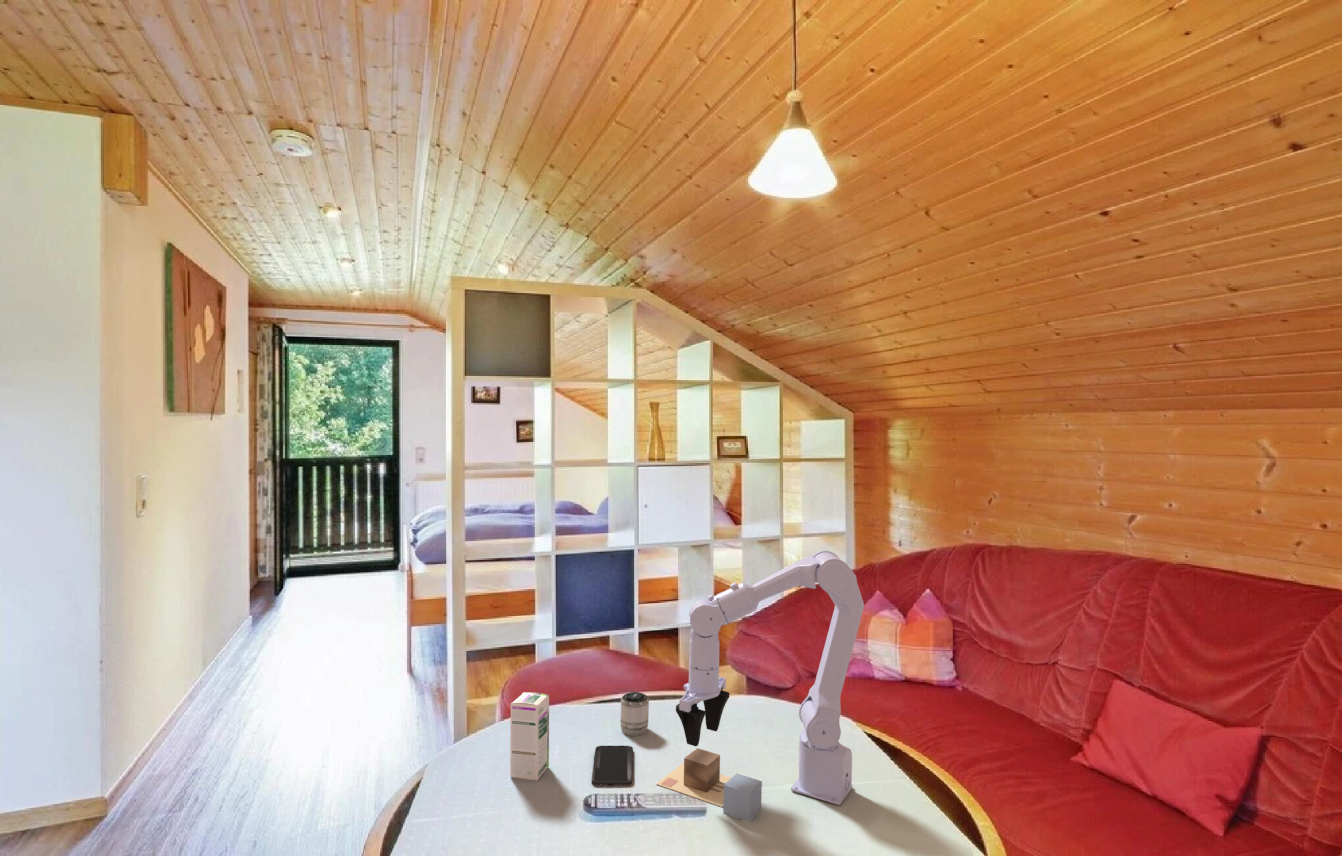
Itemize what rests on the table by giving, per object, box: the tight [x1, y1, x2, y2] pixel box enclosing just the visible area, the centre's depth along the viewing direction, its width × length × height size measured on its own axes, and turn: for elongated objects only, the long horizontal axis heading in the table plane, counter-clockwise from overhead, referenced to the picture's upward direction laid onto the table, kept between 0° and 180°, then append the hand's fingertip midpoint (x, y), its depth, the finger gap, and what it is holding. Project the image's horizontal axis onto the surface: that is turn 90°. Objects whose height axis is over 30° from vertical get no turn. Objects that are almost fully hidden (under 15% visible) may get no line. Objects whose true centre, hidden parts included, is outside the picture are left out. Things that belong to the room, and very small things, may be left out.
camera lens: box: [619, 691, 650, 737], centre depth 153 cm, size 6×6×8 cm
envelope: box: [655, 762, 732, 808], centre depth 130 cm, size 14×10×1 cm
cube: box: [722, 773, 763, 823], centre depth 121 cm, size 5×5×5 cm
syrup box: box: [509, 691, 550, 782], centre depth 134 cm, size 6×6×14 cm
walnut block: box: [683, 748, 721, 792], centre depth 130 cm, size 5×5×5 cm
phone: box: [591, 745, 634, 787], centre depth 136 cm, size 8×1×15 cm
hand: (702, 736), depth 130 cm, fingers open, 7 cm apart
